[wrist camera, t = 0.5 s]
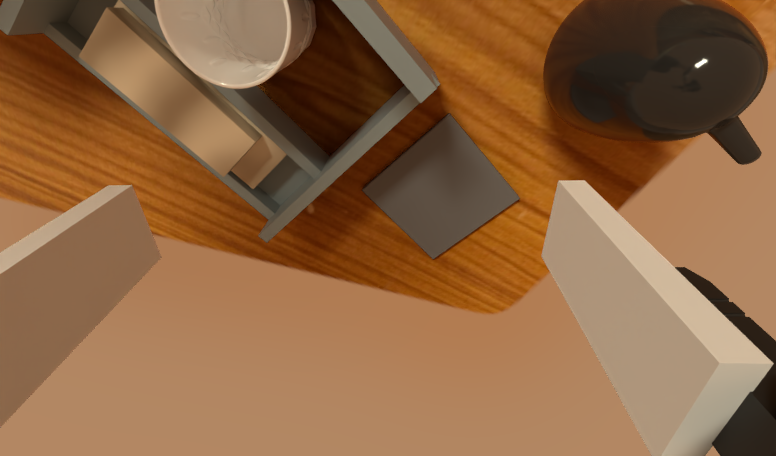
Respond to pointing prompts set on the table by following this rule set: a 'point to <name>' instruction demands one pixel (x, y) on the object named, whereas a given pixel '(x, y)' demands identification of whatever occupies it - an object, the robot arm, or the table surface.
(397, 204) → the mat
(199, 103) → the upper offcut
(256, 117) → the rack
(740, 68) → the pump dispenser
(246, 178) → the block
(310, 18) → the white cup
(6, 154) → the table surface
